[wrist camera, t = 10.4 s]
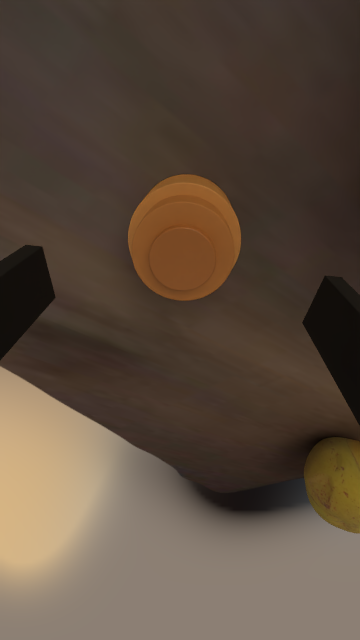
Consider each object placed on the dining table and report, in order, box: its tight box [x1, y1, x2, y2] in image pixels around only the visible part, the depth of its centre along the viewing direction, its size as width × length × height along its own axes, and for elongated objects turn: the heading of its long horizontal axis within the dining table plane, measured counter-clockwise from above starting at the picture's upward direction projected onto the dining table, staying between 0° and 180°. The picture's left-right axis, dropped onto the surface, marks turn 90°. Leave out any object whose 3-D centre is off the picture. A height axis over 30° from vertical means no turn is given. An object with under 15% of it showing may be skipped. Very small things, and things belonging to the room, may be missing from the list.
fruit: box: [304, 437, 360, 533], centre depth 32 cm, size 11×12×10 cm
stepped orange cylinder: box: [128, 174, 241, 301], centre depth 16 cm, size 7×7×6 cm
